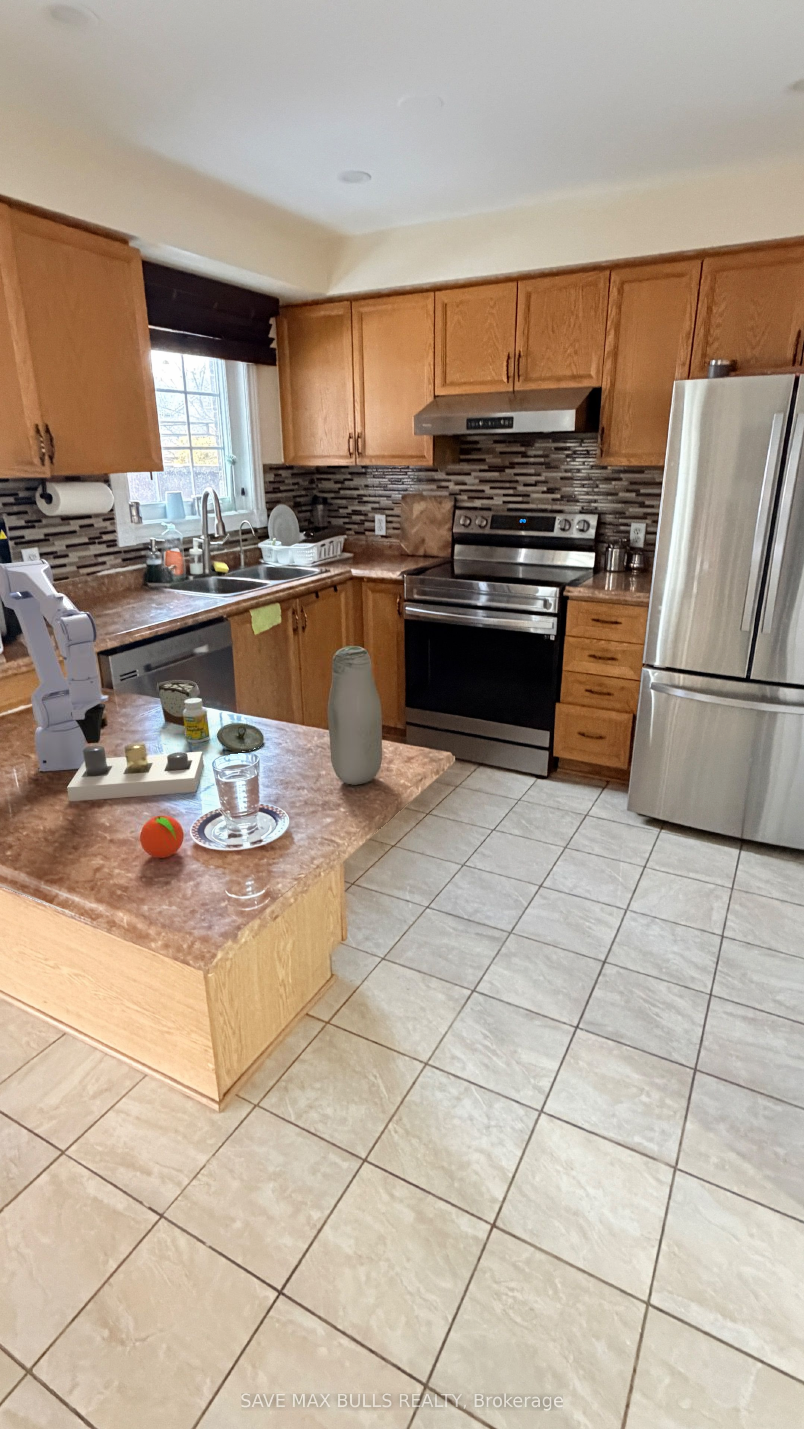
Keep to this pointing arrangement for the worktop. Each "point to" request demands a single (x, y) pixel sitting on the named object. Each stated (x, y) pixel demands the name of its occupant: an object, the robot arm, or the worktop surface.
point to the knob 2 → (178, 761)
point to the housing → (136, 779)
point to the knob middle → (136, 758)
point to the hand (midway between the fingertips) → (93, 741)
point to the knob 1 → (95, 760)
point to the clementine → (161, 836)
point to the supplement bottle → (195, 721)
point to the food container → (176, 699)
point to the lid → (240, 737)
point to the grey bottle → (354, 717)
